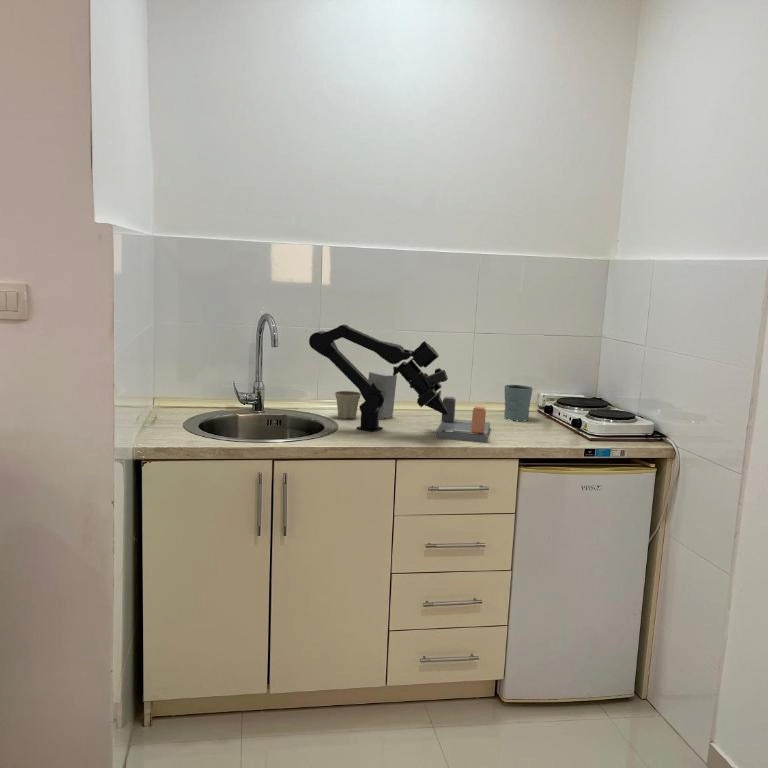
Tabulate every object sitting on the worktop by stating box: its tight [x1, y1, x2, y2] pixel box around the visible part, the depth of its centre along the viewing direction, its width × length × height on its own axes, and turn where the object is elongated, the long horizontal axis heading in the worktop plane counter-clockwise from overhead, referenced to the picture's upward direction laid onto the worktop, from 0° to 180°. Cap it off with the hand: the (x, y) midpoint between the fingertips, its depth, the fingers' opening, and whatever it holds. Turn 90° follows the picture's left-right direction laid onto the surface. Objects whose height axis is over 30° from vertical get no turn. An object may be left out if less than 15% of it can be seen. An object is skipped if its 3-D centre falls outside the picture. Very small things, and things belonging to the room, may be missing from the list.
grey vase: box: [367, 370, 398, 420], centre depth 270 cm, size 8×7×16 cm
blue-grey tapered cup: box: [503, 384, 533, 422], centre depth 279 cm, size 10×10×12 cm
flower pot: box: [334, 390, 362, 420], centre depth 267 cm, size 9×9×9 cm
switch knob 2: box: [471, 406, 487, 433], centre depth 244 cm, size 4×4×8 cm
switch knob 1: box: [441, 396, 457, 421], centre depth 259 cm, size 4×4×8 cm
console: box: [435, 418, 491, 443], centre depth 252 cm, size 16×22×2 cm
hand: (446, 413), depth 245 cm, fingers closed
